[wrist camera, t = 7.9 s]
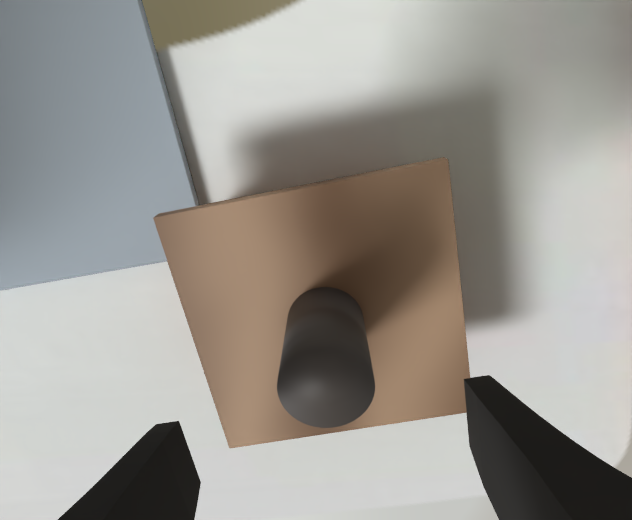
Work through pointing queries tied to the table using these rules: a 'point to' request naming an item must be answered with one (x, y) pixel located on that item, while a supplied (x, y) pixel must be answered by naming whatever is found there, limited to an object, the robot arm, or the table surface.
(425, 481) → the table surface
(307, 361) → the lid
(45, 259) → the mat
